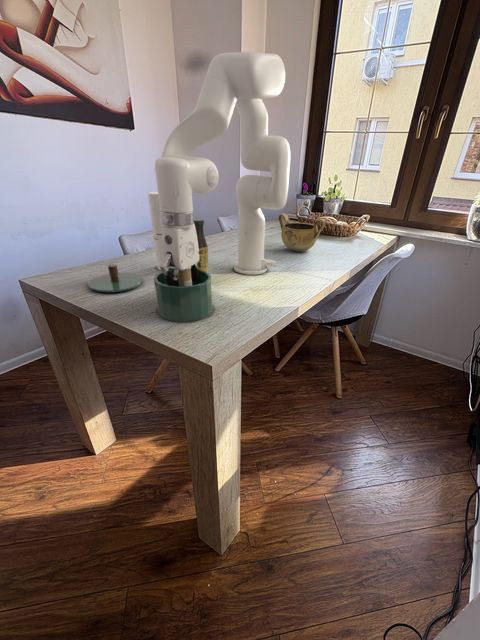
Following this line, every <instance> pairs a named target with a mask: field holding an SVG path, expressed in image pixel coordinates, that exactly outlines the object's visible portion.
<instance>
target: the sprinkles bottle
mask: <svg viewBox="0 0 480 640" xmlns="http://www.w3.org/2000/svg"><path fill="white" fill-rule="evenodd" d="M173 266H174V267H175V265H173ZM174 271H175V270H174ZM177 279H179V284H180V286H192V279H191V267H189V268H187V269H185V270H183V271H181V270H179V273H178V277H177Z"/></svg>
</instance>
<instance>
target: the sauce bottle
mask: <svg viewBox="0 0 480 640" xmlns="http://www.w3.org/2000/svg"><path fill="white" fill-rule="evenodd" d="M194 224H195V228H196V233H197V239H198V247H199V261H198V262H197V263H198V267H196V268H197V269H198V270H203V271H205V272H207V273H209V246H208V244H207V240H206V237H205V232H204V225H205V220H204V219H203V218H195V217H194Z"/></svg>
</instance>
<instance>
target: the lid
mask: <svg viewBox="0 0 480 640" xmlns="http://www.w3.org/2000/svg"><path fill="white" fill-rule="evenodd" d="M107 269H108V273H106V274H102V275H97V276H96V277H95V276H94V277H93V278H91V279H90V280H89V281H88V283H87V285H88V288H89V289H90V290H93V291H95V292H100V293H119V292H124V291H128V290H132V289H135V288H138V287H139V286H140V285H141V284H142V283H143V279H142V277H141V276H140V275H138V274H134V273H129V272H119V269H118V265H117V264H114V263H113V264H111V263H110V264H109V265H107Z"/></svg>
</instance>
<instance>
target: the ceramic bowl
mask: <svg viewBox="0 0 480 640" xmlns="http://www.w3.org/2000/svg"><path fill="white" fill-rule="evenodd" d="M278 221H279V225H280V229H281V241H282V243H283V245H284V246H285V247H286V248H287V249H289V250H290V251H293V252H296V253H297V252H298V253H303V252H306V251H309V250H310V249H311V248H313V247H314V246H315V244H316V242H317V239H318V238H319V235H320V234H321V232H322V230H323V229H324V228H325V226H326V224H327V221H326V219H325V218H320V219H318V220H316V221H315V223H314V224H313V223H307V222H298V221H297V222H296V221H295V222H290V218H289V216H288V214H287V213H280V214H279V216H278ZM320 222H321V225H320V227H319V228H318V225H319V224H320Z"/></svg>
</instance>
